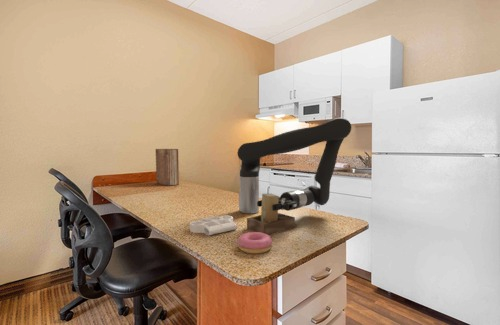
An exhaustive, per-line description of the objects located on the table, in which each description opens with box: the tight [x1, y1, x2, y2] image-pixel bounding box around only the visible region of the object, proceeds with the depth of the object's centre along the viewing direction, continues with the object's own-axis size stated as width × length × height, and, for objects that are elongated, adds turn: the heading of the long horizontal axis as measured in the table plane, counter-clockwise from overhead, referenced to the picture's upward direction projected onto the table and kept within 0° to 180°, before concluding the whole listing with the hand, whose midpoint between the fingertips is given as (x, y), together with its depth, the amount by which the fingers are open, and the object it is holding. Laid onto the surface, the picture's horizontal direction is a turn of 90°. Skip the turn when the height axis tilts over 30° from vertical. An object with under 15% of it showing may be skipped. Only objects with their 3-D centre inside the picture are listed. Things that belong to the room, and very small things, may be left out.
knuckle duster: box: [189, 214, 238, 237], centre depth 99 cm, size 3×18×15 cm
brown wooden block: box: [155, 148, 180, 187], centre depth 218 cm, size 25×9×30 cm, turn 41°
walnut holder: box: [246, 212, 296, 236], centre depth 99 cm, size 11×15×4 cm
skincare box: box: [260, 193, 280, 223], centre depth 98 cm, size 6×4×12 cm
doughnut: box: [236, 231, 273, 255], centre depth 80 cm, size 11×11×4 cm
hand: (265, 205), depth 97 cm, fingers open, 8 cm apart
